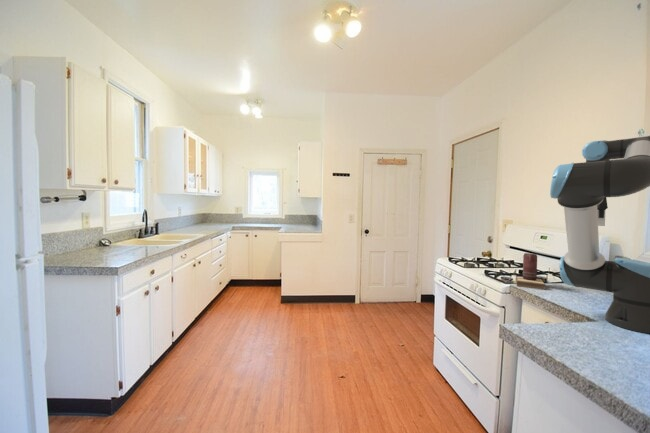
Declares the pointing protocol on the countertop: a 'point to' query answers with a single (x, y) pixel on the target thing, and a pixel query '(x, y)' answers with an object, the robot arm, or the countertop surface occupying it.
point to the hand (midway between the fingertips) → (595, 225)
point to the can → (530, 266)
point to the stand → (530, 283)
